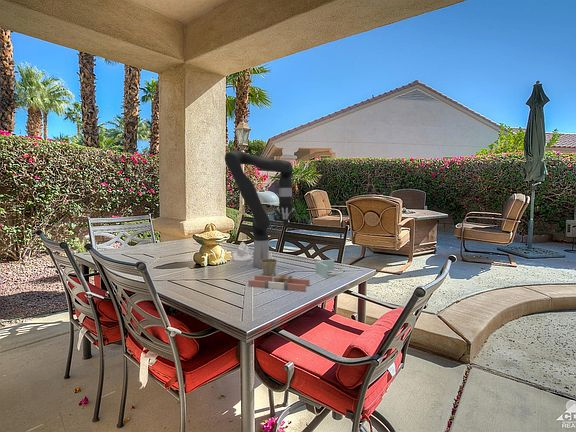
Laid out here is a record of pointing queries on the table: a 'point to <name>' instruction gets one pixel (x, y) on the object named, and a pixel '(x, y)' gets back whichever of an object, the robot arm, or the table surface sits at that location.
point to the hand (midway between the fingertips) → (285, 225)
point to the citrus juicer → (242, 254)
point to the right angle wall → (325, 268)
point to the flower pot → (268, 266)
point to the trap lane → (279, 283)
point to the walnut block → (282, 278)
